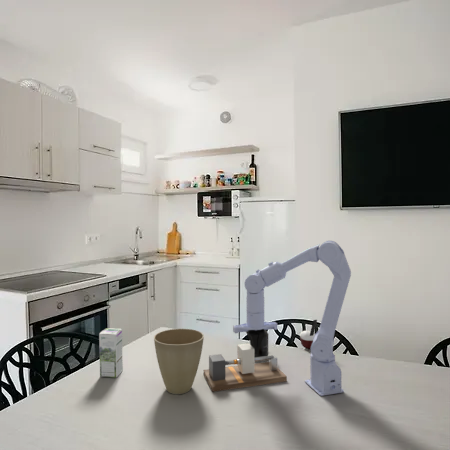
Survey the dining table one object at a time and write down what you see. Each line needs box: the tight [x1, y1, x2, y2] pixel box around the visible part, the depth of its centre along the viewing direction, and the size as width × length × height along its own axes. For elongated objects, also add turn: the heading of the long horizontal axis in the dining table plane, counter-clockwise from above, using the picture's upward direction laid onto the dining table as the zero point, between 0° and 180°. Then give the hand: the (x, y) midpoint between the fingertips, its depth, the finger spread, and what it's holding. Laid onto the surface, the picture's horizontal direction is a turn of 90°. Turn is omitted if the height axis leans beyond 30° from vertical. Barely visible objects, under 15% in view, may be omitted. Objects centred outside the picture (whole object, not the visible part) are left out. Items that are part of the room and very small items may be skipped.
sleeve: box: [236, 342, 255, 374], centre depth 114 cm, size 5×4×8 cm
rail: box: [225, 355, 278, 371], centre depth 115 cm, size 2×20×5 cm, turn 106°
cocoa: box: [299, 319, 318, 350], centre depth 141 cm, size 10×6×12 cm, turn 177°
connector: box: [208, 353, 226, 381], centre depth 112 cm, size 5×4×6 cm
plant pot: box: [153, 328, 205, 395], centre depth 108 cm, size 15×15×16 cm
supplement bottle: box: [249, 330, 269, 358], centre depth 132 cm, size 7×7×12 cm
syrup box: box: [98, 327, 124, 378], centre depth 117 cm, size 6×6×14 cm
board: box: [203, 361, 288, 393], centre depth 114 cm, size 12×24×2 cm, turn 106°
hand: (255, 352), depth 115 cm, fingers closed
